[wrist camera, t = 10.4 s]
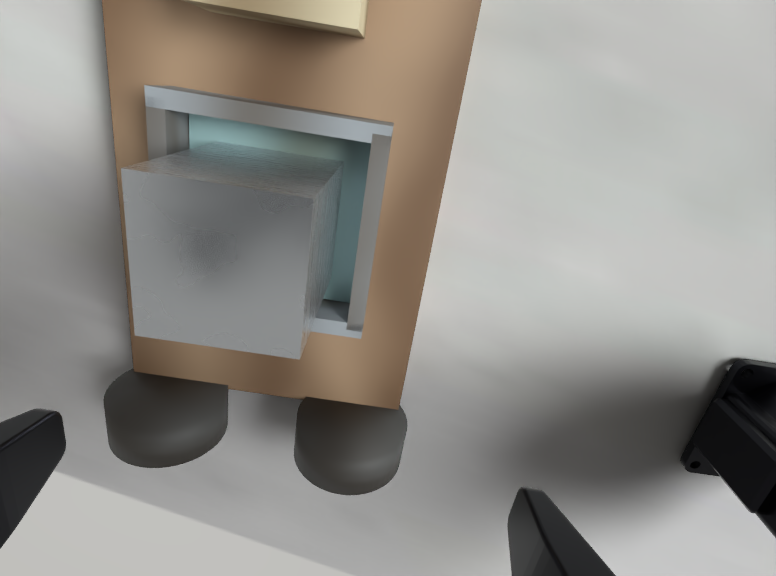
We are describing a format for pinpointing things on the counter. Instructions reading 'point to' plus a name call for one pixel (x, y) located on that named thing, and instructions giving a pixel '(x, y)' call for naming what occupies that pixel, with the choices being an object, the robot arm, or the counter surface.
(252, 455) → the counter surface
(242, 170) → the grey rectangular block
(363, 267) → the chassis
